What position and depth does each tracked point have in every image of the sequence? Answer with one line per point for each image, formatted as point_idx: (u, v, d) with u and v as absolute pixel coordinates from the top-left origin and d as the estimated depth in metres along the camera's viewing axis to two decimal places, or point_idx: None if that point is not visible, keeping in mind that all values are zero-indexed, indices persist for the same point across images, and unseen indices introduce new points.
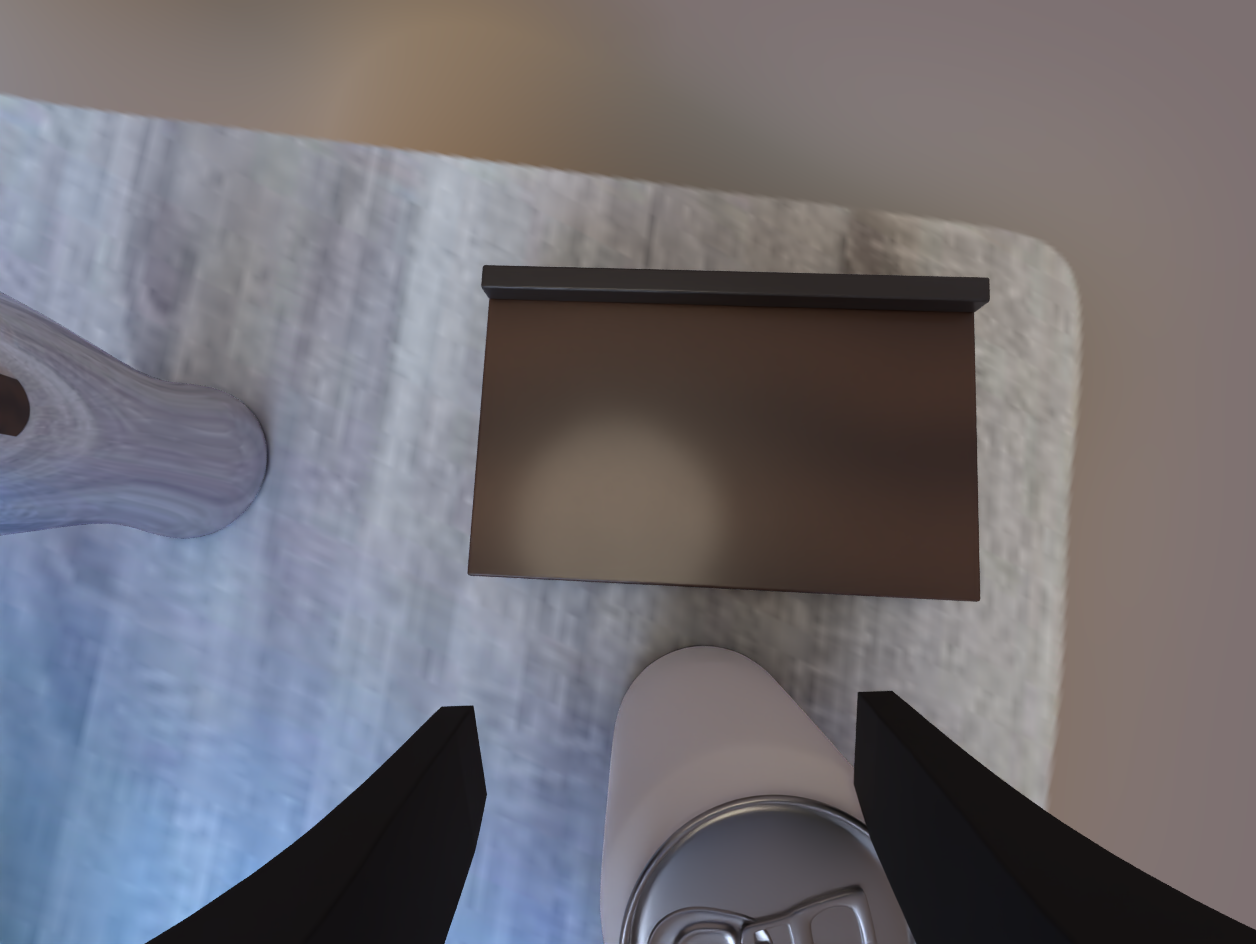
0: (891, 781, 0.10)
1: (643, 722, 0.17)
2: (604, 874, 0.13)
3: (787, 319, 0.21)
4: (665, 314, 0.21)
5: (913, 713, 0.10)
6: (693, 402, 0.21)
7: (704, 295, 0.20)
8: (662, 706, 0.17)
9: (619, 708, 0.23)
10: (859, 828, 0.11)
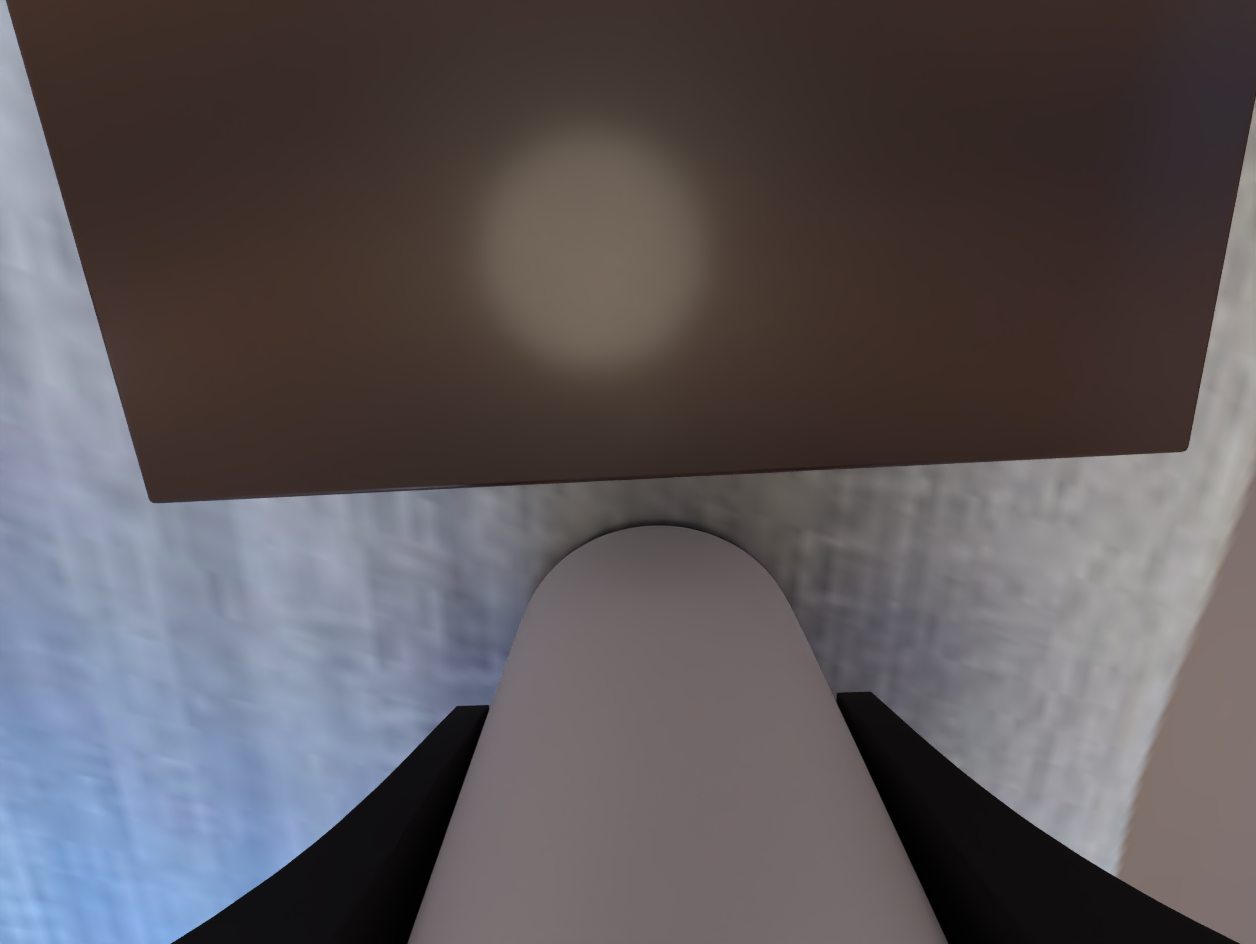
0: None
1: (484, 763, 0.09)
2: None
3: None
4: None
5: (889, 714, 0.10)
6: (550, 44, 0.08)
7: None
8: (517, 733, 0.08)
9: None
10: None
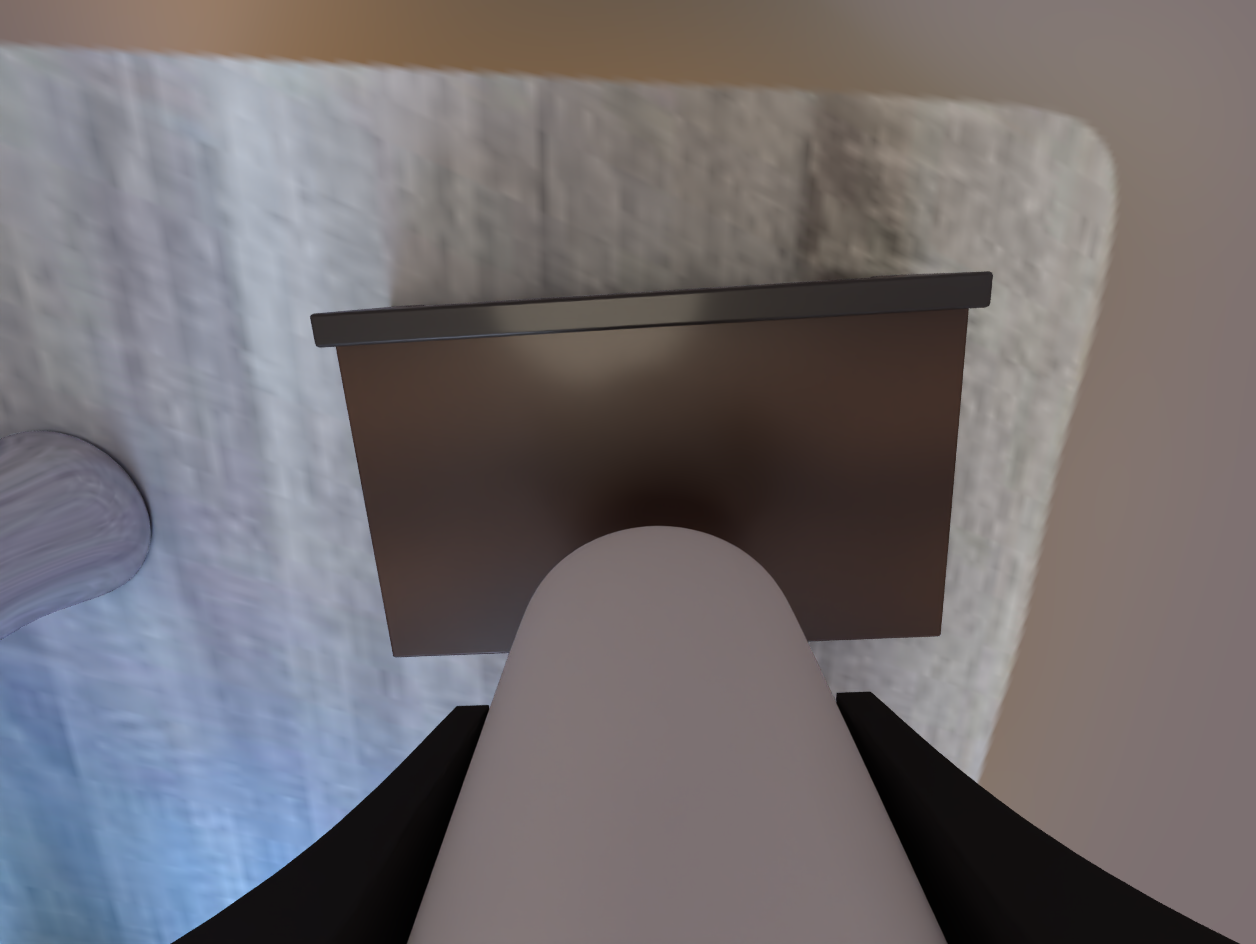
0: None
1: (484, 764, 0.09)
2: None
3: (725, 336, 0.16)
4: (566, 343, 0.16)
5: (890, 714, 0.10)
6: (614, 454, 0.17)
7: (611, 329, 0.15)
8: (516, 734, 0.08)
9: None
10: None
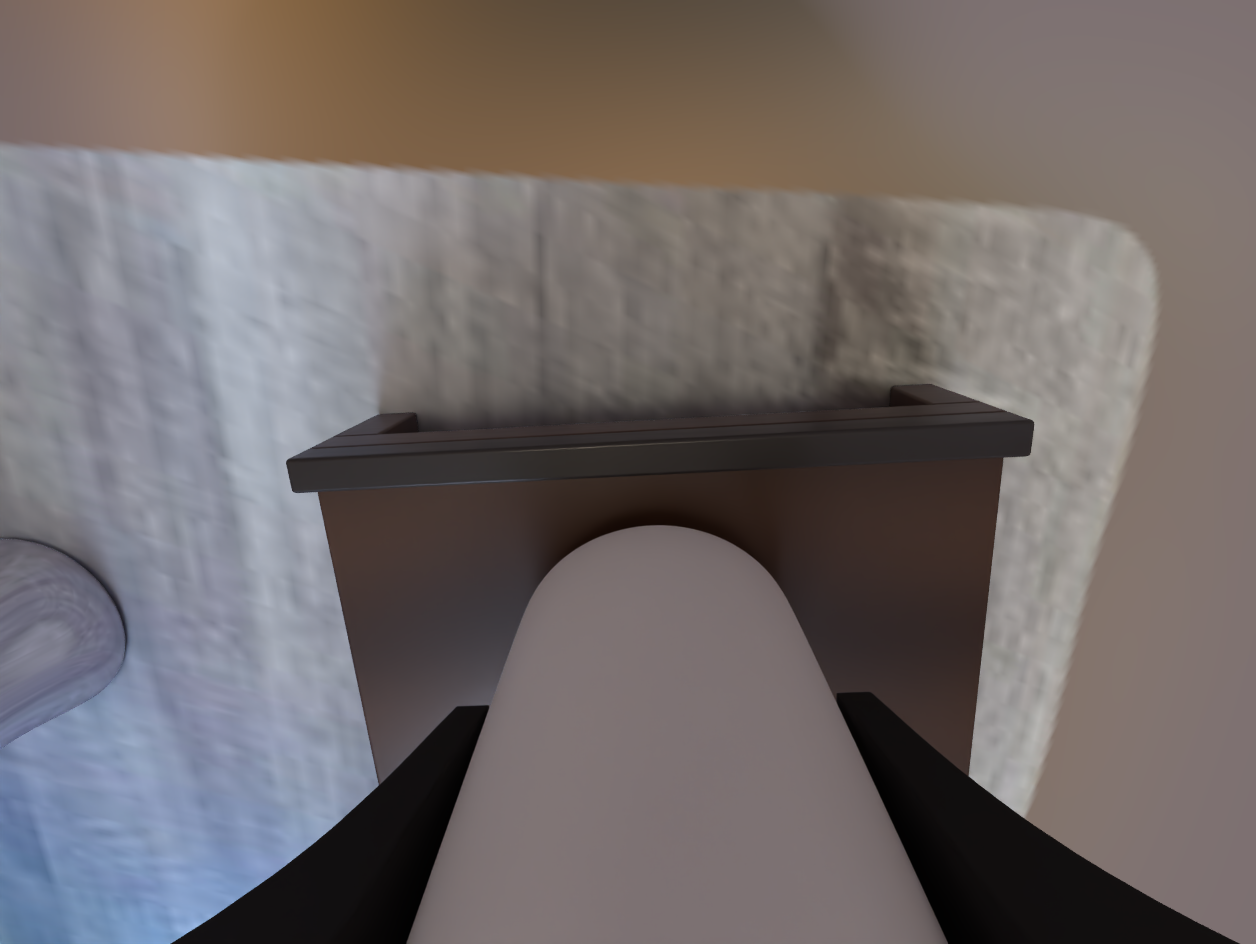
0: None
1: (483, 763, 0.09)
2: None
3: (738, 475, 0.15)
4: (566, 481, 0.15)
5: (890, 715, 0.10)
6: None
7: None
8: (516, 733, 0.08)
9: None
10: None
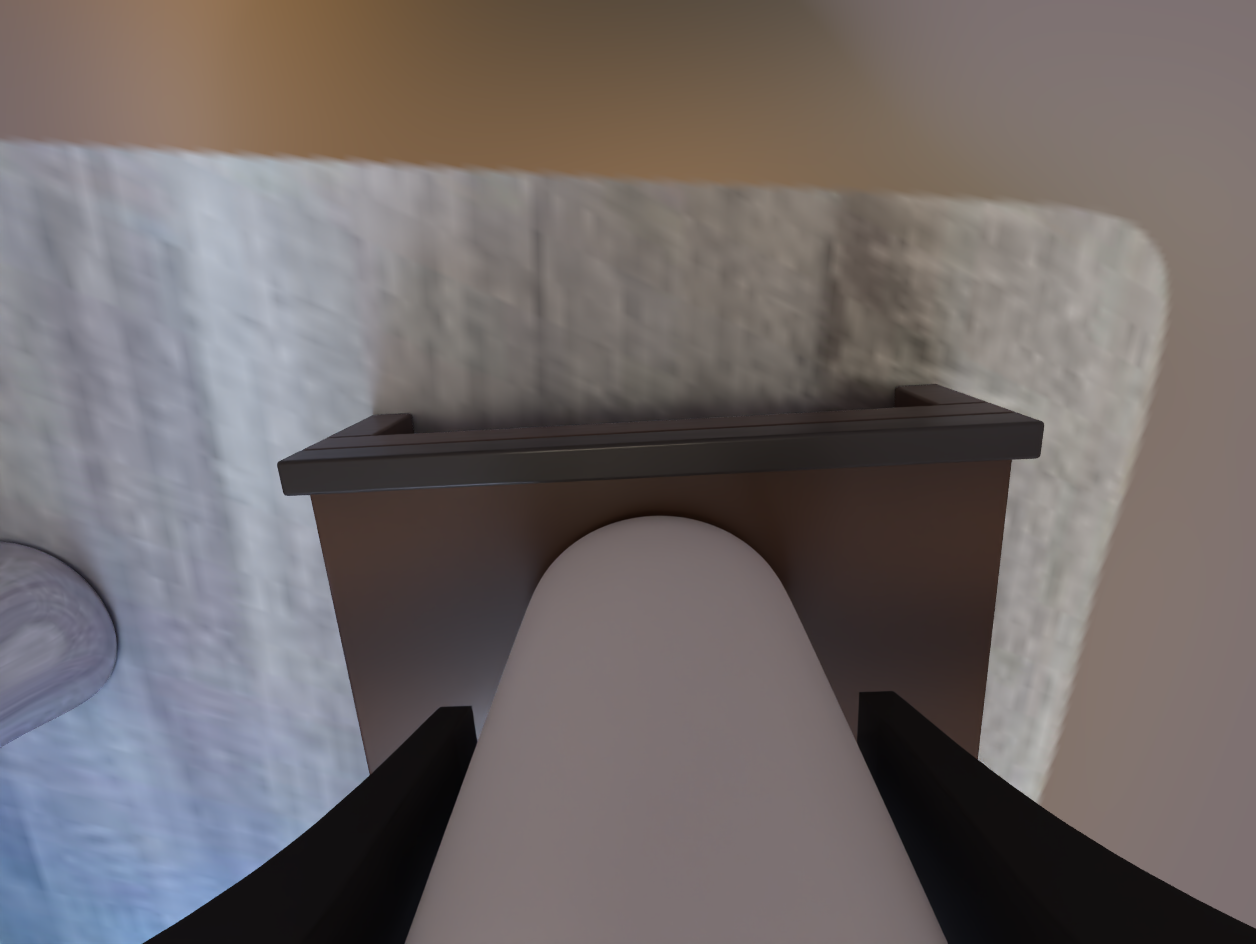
0: (893, 781, 0.10)
1: (493, 734, 0.09)
2: None
3: (740, 477, 0.14)
4: (564, 484, 0.15)
5: (914, 713, 0.10)
6: None
7: (615, 478, 0.14)
8: (524, 705, 0.09)
9: None
10: None
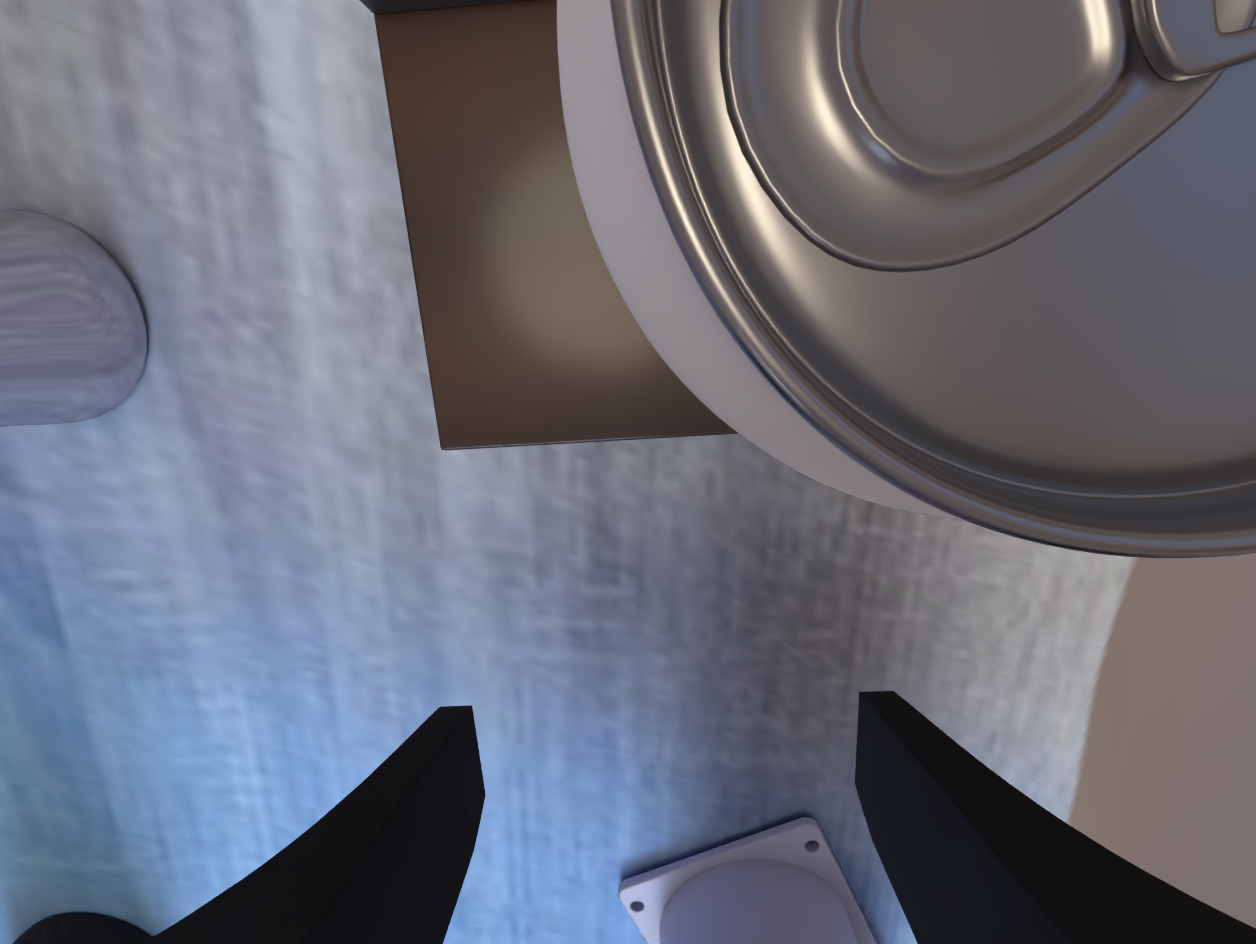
0: (893, 781, 0.10)
1: None
2: None
3: None
4: None
5: (914, 713, 0.10)
6: None
7: None
8: None
9: None
10: None
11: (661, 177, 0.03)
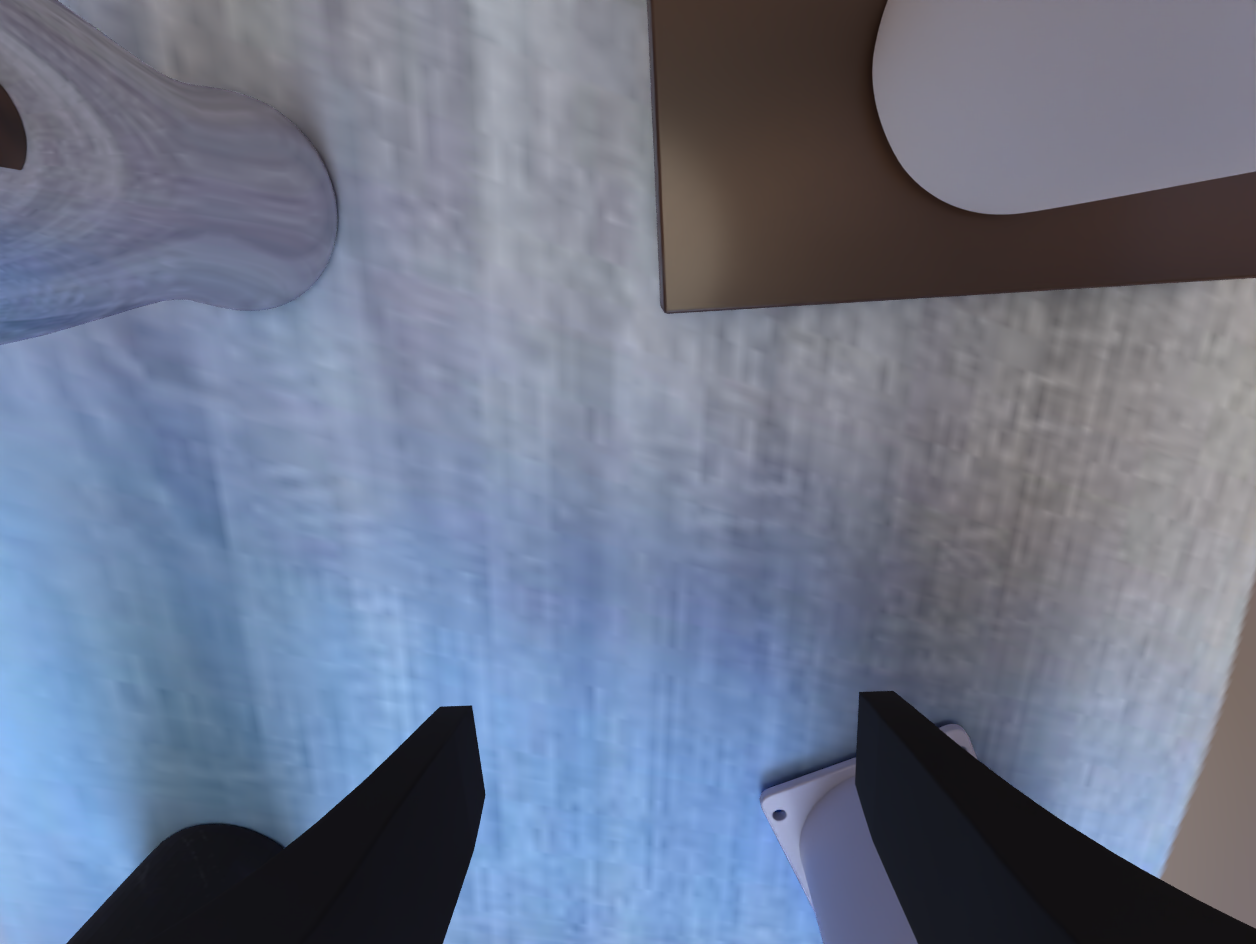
0: (893, 781, 0.10)
1: None
2: None
3: None
4: None
5: (914, 713, 0.10)
6: None
7: None
8: None
9: (883, 16, 0.13)
10: None
11: None
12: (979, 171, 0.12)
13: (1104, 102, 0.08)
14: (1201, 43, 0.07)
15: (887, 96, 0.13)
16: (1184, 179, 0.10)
